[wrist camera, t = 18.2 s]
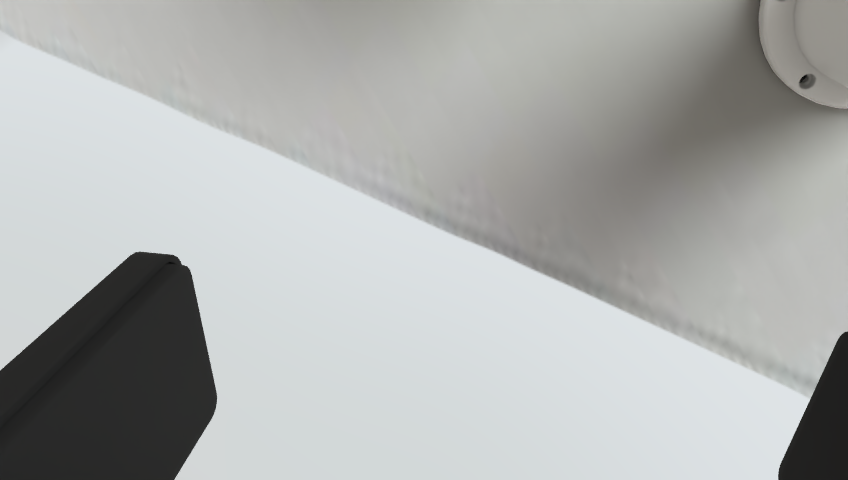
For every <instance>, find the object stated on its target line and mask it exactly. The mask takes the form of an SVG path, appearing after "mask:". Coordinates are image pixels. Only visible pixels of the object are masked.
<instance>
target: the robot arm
mask: <svg viewBox="0 0 848 480" xmlns="http://www.w3.org/2000/svg"><path fill="white" fill-rule="evenodd" d="M758 20H759V35H760V41H761V45H762V48H763V51H764V55H765V57H766V59H767V61H768V63H769V64H770V66H771V68H772V70H773V71H774V73H775V74H776V75H777V76H778V77H779V78H780V79H781V80H782V81H783V82H784V83H785V84H786V85H787V86H788V87H789V88H791V89H792V90H793V91H795V92H796V93H798V94H799V95H801V96H803V97H805V98H807V99H809V100H811V101H813V102H815V103H818V104H822V105H826V106H830V107H834V108H842V109H848V0H761V2H760V9H759V17H758ZM804 75H806V78H805V79H804V80H803V81H801V82H799V81H800V79H801V78H802V77H803V76H804ZM216 404H217V393H216V388H215V384H214V379H213V374H212V369H211V364H210V360H209V355H208V351H207V346H206V341H205V336H204V331H203V327H202V322H201V318H200V312H199V308H198V303H197V298H196V294H195V289H194V284H193V280H192V275H191V272H190V270H189V268H188V267H187V266H184V265H182V264H181V261H180V260H179V259H178V257H176V256H174V255H168V254H158V253H147V252H136V253H134V254H132V255H130V256H129V257H128V258H127V259H126V260H125V261H124V262H123V263H122V264H120V265H119V266H118V267H117V268H116V269H115V270H113V271H112V272H111V273H110V274H109V275H108V276H107V277H106V278H104V279H103V280H102V281H101V282H100V283H99V284H98V285H97V286H95V287H94V288H93V289H92V290H91V291H90V292H89V293H87V294H86V295H85V296H84V297H83V298H82V299H81V300H80V301H78V302H77V303H76V304H75V305H74V306H73V307H72V308H71V309H69V310H68V311H67V312H66V313H65V314H64V315H63V316H61V317H60V318H59V319H58V320H57V321H56V322H55V323H54V324H52V325H51V326H50V327H49V328H48V329H47V330H46V331H45V332H43V333H42V334H41V335H40V336H39V337H38V338H37V339H36V340H34V341H33V342H32V343H31V344H30V345H29V346H28V347H26V348H25V349H24V350H23V351H22V352H21V353H20V354H19V355H17V356H16V357H15V358H14V359H13V360H12V361H11V362H10V363H8V364H7V365H6V366H5V367H4V368H3V369H2V370H1V371H0V480H174V479H175V477H176V476H177V474H178V473H179V471H180V469H181V468H182V466H183V464H184V463H185V461H186V459H187V458H188V456H189V454H190V453H191V451H192V449H193V448H194V446H195V445H196V443H197V441H198V440H199V438H200V437H201V435H202V433H203V432H204V430H205V428H206V427H207V425H208V424H209V422H210V420H211V419H212V417H213V415H214V412H215V409H216ZM778 479H779V480H848V332H844V333H843V334H842V335H841V336H840V337H839V339H838V341H837V343H836V345H835V347H834V349H833V351H832V354H831V356H830V358H829V360H828V362H827V365H826V367H825V369H824V371H823V373H822V375H821V378H820V380H819V382H818V384H817V386H816V388H815V391H814V393H813V395H812V397H811V399H810V402H809V404H808V406H807V408H806V410H805V412H804V414H803V417H802V419H801V421H800V423H799V426H798V428H797V430H796V432H795V434H794V436H793V439H792V441H791V443H790V445H789V447H788V449H787V451H786V454H785V456H784V458H783V460H782V463H781V465H780V468H779V474H778Z"/></svg>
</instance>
